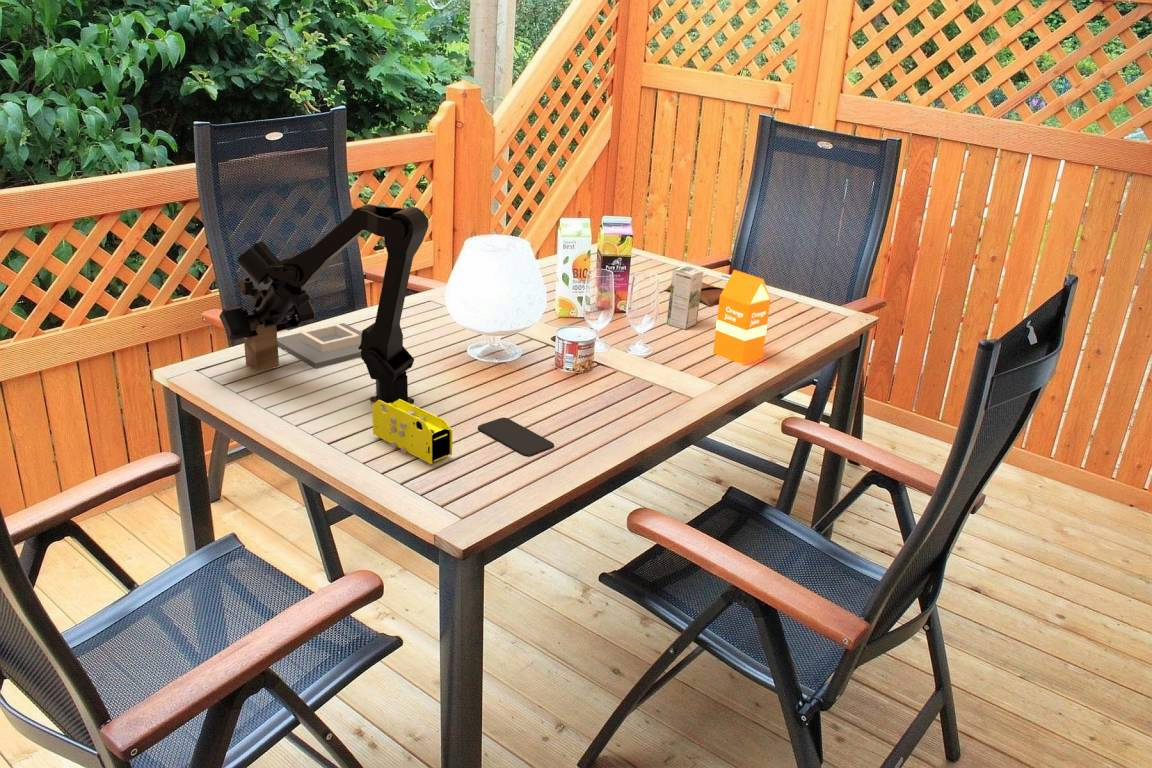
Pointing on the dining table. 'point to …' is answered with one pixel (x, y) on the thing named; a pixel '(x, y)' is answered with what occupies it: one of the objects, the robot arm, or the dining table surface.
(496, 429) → the phone
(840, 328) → the dining table surface
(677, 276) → the syrup box
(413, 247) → the robot arm
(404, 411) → the yellow toy chassis
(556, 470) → the dining table surface
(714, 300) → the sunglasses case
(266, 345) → the walnut block
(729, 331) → the orange juice
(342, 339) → the socket plate
